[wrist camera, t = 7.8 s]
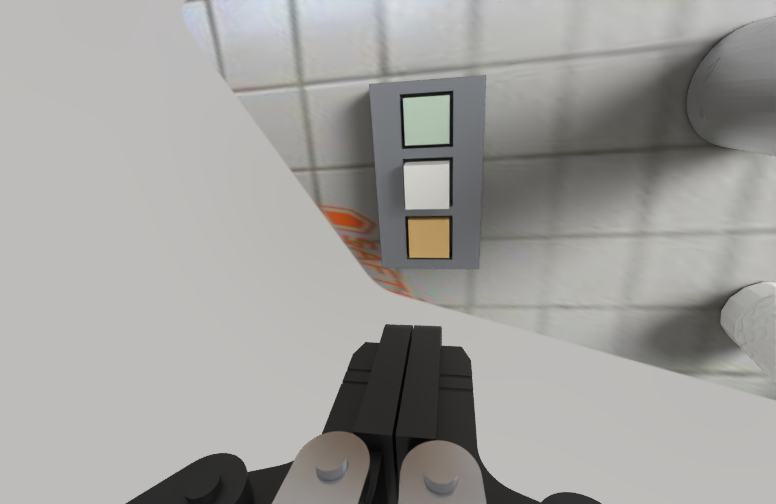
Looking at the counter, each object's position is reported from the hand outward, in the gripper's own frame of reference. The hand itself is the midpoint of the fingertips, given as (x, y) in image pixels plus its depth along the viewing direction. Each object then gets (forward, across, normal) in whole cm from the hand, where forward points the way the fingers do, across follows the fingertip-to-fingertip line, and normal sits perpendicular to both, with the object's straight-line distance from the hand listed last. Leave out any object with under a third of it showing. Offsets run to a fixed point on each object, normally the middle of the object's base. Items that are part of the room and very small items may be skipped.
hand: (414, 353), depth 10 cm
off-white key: (+23, +1, 0) cm, 23 cm away
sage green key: (+25, +1, -5) cm, 25 cm away
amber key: (+25, +1, +5) cm, 25 cm away
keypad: (+27, +1, 0) cm, 27 cm away
